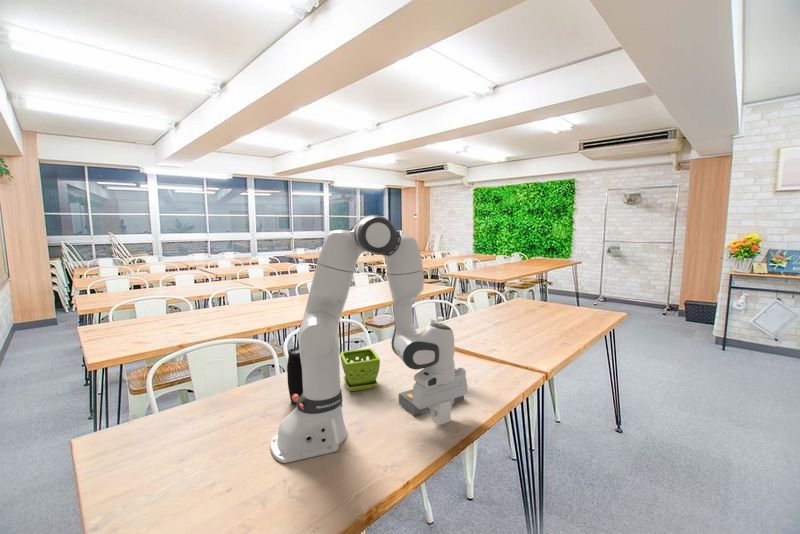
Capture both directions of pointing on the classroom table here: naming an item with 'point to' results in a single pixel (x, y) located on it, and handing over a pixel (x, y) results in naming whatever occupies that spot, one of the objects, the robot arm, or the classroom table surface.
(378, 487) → the classroom table surface
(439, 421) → the block
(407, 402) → the power strip
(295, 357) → the portable speaker
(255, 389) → the classroom table surface
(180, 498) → the classroom table surface
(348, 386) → the flower pot
